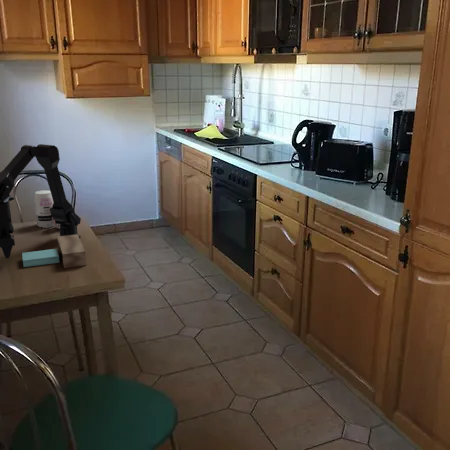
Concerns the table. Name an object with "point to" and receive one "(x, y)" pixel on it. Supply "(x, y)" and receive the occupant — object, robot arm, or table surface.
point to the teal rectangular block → (40, 257)
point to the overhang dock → (71, 251)
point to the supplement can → (44, 208)
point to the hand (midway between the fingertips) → (7, 257)
